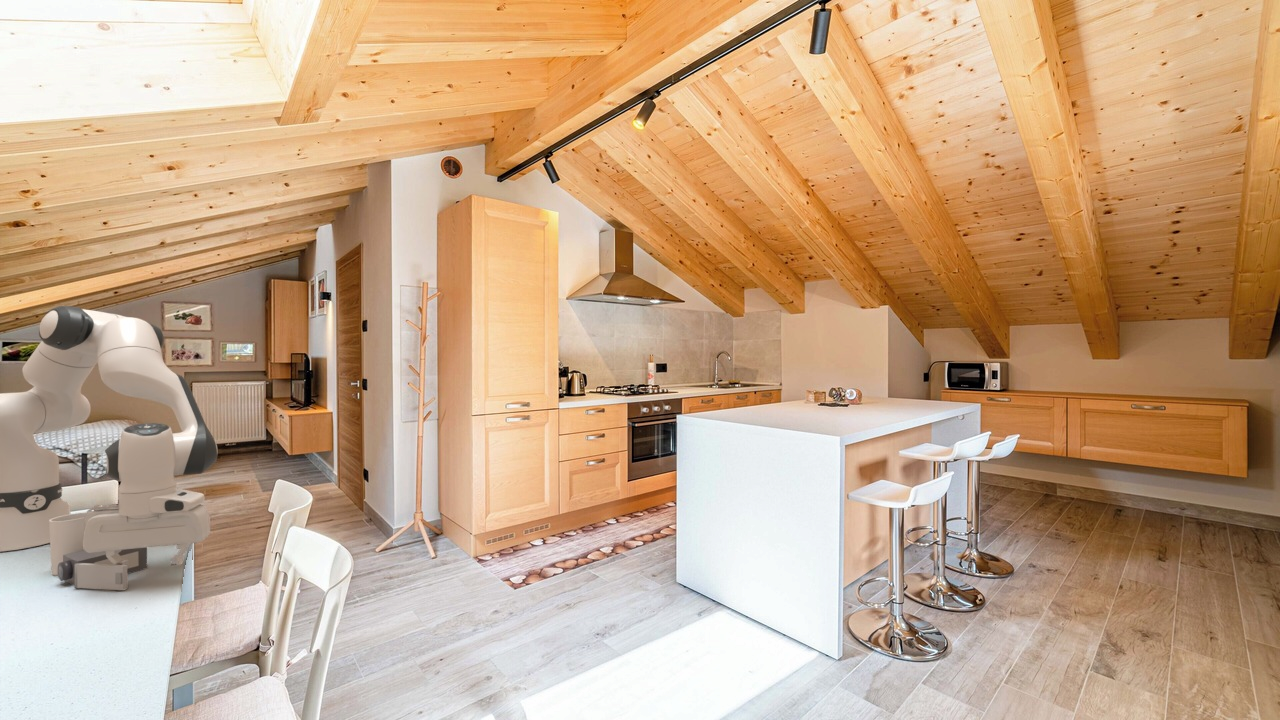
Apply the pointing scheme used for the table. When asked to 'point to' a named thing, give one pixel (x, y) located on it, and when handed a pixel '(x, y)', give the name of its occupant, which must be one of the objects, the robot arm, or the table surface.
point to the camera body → (100, 561)
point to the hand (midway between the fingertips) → (149, 567)
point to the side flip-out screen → (101, 576)
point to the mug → (65, 537)
